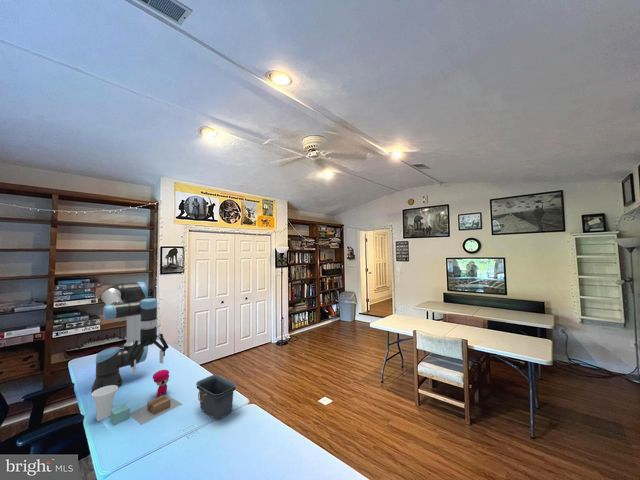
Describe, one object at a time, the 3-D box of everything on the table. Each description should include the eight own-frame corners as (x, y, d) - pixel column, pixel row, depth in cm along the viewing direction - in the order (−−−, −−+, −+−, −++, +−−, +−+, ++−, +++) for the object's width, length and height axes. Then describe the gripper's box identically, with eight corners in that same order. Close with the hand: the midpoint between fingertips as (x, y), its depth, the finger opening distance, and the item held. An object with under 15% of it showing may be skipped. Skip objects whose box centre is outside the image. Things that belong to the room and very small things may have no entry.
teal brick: (110, 422, 128) (110, 410, 129) (124, 416, 133) (124, 404, 134) (115, 427, 125) (115, 414, 125) (129, 420, 130) (129, 408, 130)
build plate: (127, 415, 134) (127, 413, 134) (168, 397, 150) (168, 395, 150) (141, 426, 125) (141, 424, 125) (182, 405, 141) (182, 404, 141)
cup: (87, 426, 126) (88, 398, 126) (94, 414, 135) (95, 388, 136) (114, 419, 131) (115, 392, 131) (119, 408, 140) (119, 383, 140)
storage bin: (239, 411, 135) (239, 383, 136) (212, 428, 123) (212, 397, 123) (216, 398, 148) (216, 373, 148) (189, 412, 135) (189, 384, 136)
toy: (161, 401, 146) (161, 374, 146) (148, 400, 147) (149, 373, 148) (172, 393, 154) (172, 367, 155) (160, 392, 156) (161, 367, 156)
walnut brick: (147, 409, 137) (147, 402, 137) (163, 402, 143) (163, 395, 143) (154, 414, 132) (154, 406, 132) (170, 406, 139) (170, 399, 139)
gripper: (125, 335, 128) (124, 378, 127) (175, 322, 149) (175, 360, 148) (118, 333, 132) (117, 375, 131) (168, 321, 153) (168, 357, 152)
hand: (148, 367), depth 139 cm, fingers open, 13 cm apart
